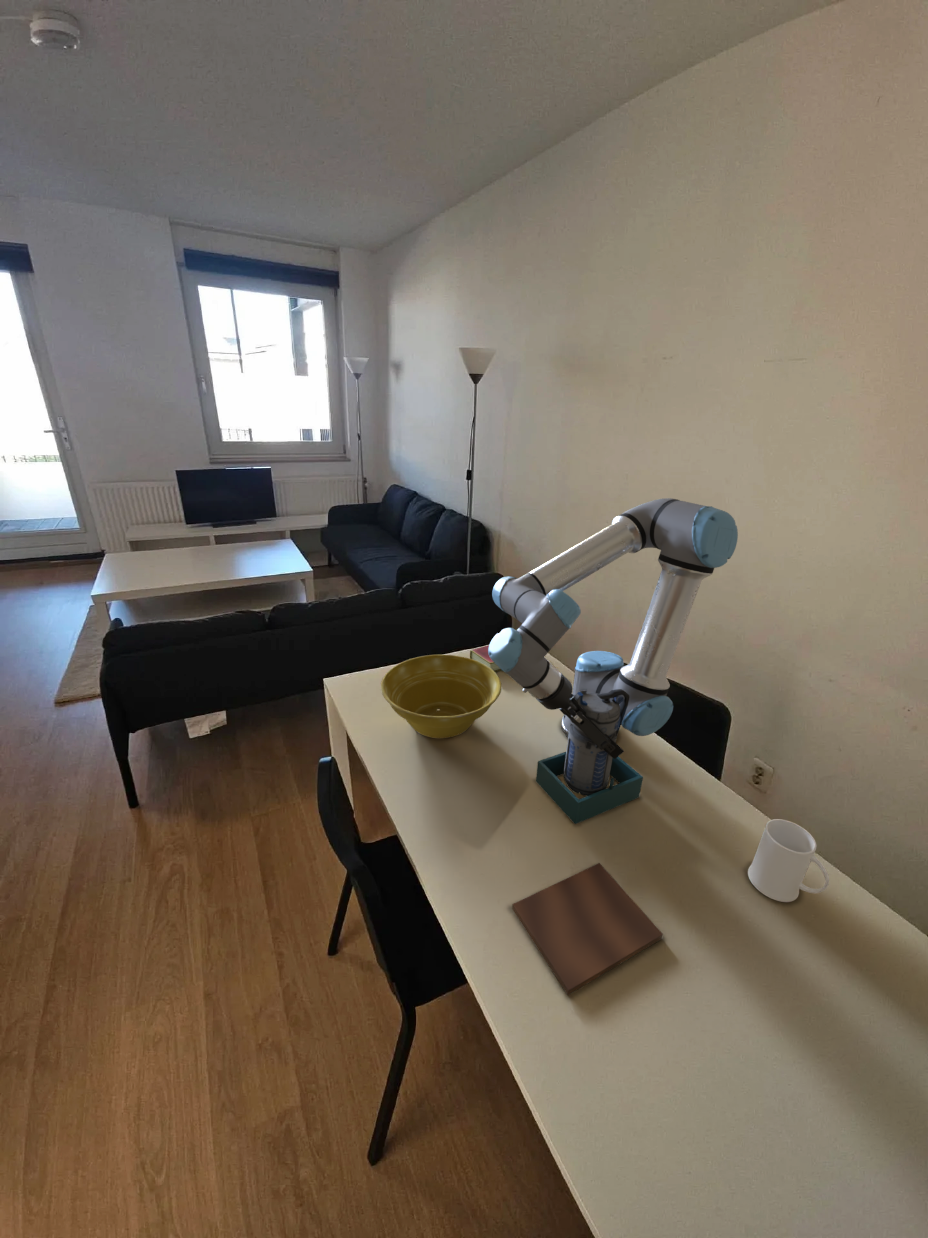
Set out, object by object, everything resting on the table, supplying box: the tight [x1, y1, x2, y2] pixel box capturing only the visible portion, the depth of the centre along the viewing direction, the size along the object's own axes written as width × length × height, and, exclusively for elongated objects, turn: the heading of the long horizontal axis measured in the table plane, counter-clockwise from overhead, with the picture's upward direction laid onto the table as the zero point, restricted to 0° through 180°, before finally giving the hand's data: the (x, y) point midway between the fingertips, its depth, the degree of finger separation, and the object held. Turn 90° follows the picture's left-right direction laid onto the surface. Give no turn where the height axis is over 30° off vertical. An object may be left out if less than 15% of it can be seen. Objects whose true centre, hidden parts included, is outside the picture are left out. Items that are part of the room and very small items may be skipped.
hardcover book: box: [469, 644, 503, 673], centre depth 175 cm, size 12×21×4 cm, turn 123°
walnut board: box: [511, 862, 664, 996], centre depth 88 cm, size 20×16×1 cm
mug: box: [747, 818, 830, 903], centre depth 93 cm, size 12×8×12 cm
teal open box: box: [535, 751, 644, 825], centre depth 117 cm, size 19×15×9 cm
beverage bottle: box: [562, 689, 629, 797], centre depth 113 cm, size 10×13×25 cm
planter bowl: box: [380, 654, 502, 739], centre depth 138 cm, size 32×32×13 cm
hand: (607, 739), depth 113 cm, fingers closed on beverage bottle, 10 cm apart
